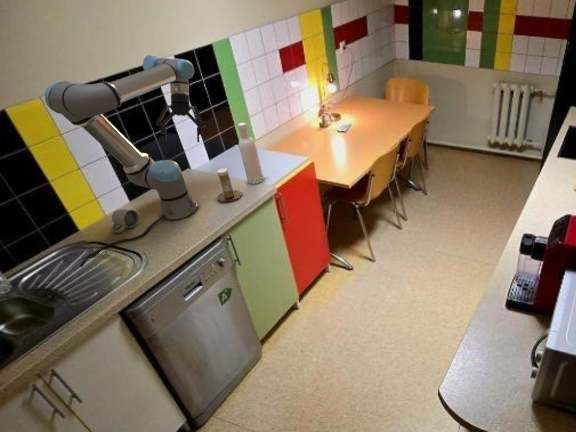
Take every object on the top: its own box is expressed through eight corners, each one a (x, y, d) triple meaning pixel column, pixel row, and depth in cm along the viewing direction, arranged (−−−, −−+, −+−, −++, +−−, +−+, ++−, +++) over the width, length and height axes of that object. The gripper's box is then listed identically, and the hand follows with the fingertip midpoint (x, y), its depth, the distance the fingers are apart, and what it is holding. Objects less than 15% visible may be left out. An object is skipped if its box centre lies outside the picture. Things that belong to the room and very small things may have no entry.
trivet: (222, 205, 192) (221, 204, 192) (214, 196, 200) (214, 195, 200) (245, 197, 198) (244, 196, 197) (236, 189, 205) (236, 187, 205)
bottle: (266, 176, 215) (253, 120, 199) (260, 184, 208) (246, 126, 192) (251, 176, 216) (237, 120, 200) (245, 183, 210) (230, 126, 194)
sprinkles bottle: (222, 197, 198) (214, 171, 190) (229, 192, 201) (221, 167, 194) (229, 198, 196) (222, 173, 189) (236, 194, 199) (229, 168, 192)
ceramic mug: (127, 219, 187) (120, 204, 182) (142, 221, 184) (135, 206, 180) (108, 232, 178) (100, 217, 174) (123, 235, 176) (115, 220, 172)
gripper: (209, 98, 198) (211, 143, 199) (150, 95, 189) (152, 142, 189) (209, 94, 191) (211, 140, 192) (147, 90, 182) (149, 139, 182)
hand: (182, 141), depth 190 cm, fingers open, 13 cm apart
